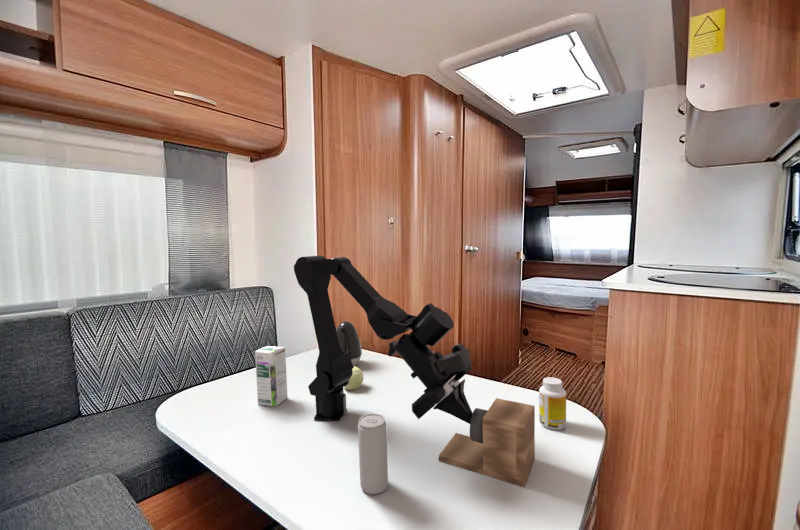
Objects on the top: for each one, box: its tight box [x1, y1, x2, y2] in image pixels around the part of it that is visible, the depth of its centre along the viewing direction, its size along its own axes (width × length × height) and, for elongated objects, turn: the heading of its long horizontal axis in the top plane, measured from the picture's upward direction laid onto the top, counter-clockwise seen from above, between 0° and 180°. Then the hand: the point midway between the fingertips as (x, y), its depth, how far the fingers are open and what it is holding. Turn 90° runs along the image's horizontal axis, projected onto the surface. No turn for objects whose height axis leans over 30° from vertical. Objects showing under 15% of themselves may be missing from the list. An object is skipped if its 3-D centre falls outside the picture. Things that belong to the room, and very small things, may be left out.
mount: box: [438, 397, 536, 488], centre depth 69 cm, size 16×9×10 cm, turn 60°
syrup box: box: [254, 345, 289, 407], centre depth 97 cm, size 6×6×14 cm
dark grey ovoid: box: [336, 320, 363, 367], centre depth 122 cm, size 10×10×15 cm
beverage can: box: [357, 413, 389, 496], centre depth 62 cm, size 5×5×12 cm
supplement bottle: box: [538, 376, 567, 431], centre depth 81 cm, size 6×6×10 cm
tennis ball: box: [343, 365, 364, 391], centre depth 104 cm, size 6×7×7 cm
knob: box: [469, 407, 489, 444], centre depth 68 cm, size 8×6×6 cm
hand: (473, 422), depth 70 cm, fingers closed, pressing on knob
